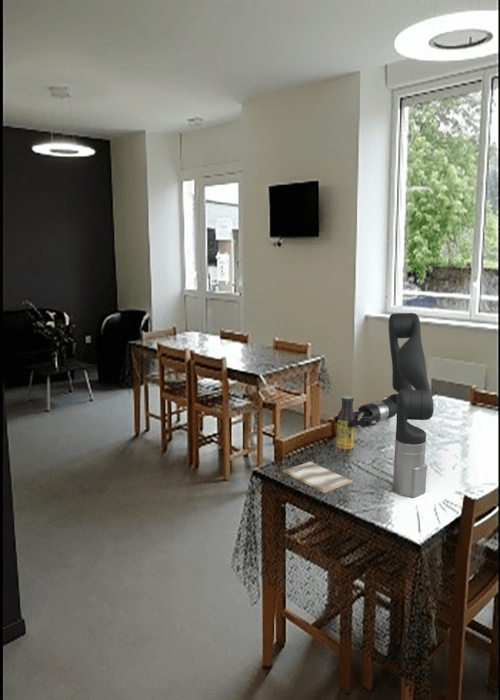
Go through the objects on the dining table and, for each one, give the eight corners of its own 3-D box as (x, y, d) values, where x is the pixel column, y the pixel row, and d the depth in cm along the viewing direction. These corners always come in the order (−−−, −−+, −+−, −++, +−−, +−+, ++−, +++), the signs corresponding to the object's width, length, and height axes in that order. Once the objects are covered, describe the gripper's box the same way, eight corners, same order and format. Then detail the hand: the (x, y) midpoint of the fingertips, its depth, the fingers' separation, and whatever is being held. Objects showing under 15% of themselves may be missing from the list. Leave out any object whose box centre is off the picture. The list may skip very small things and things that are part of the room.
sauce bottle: (333, 452, 197) (334, 398, 193) (339, 446, 203) (340, 393, 199) (351, 455, 194) (352, 400, 190) (357, 449, 200) (358, 395, 196)
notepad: (352, 482, 185) (352, 479, 185) (324, 493, 177) (324, 491, 177) (310, 462, 200) (310, 460, 200) (282, 472, 193) (282, 470, 192)
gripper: (358, 398, 210) (327, 407, 200) (389, 407, 198) (357, 417, 188) (358, 418, 211) (326, 427, 201) (388, 427, 200) (356, 438, 190)
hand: (341, 422), depth 195 cm, fingers closed on sauce bottle, 6 cm apart
